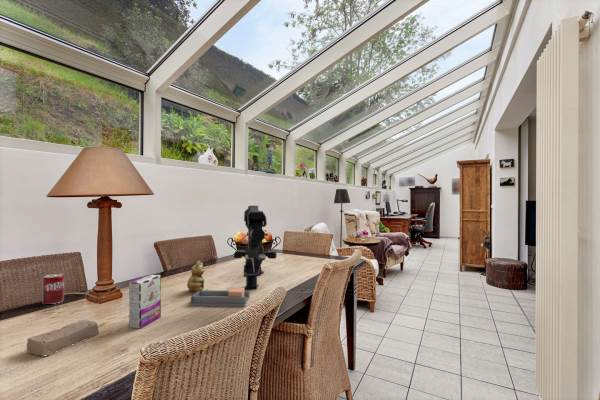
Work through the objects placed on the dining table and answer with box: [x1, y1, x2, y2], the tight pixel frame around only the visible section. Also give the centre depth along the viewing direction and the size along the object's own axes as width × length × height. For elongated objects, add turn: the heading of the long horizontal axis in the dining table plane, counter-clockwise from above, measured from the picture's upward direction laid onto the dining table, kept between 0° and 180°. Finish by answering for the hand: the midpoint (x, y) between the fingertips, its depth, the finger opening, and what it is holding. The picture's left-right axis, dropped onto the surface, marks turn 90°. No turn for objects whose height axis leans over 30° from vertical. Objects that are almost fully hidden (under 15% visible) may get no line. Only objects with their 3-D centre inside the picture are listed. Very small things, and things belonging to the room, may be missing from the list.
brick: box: [26, 319, 100, 357], centre depth 92 cm, size 17×8×5 cm, turn 161°
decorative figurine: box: [186, 260, 205, 293], centre depth 146 cm, size 10×8×15 cm
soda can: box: [41, 273, 65, 305], centre depth 127 cm, size 7×7×12 cm
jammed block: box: [228, 287, 246, 297], centre depth 130 cm, size 6×6×4 cm
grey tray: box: [189, 289, 251, 308], centre depth 130 cm, size 12×24×4 cm, turn 90°
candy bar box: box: [128, 274, 162, 329], centre depth 108 cm, size 11×5×16 cm, turn 168°
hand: (255, 273), depth 130 cm, fingers closed
